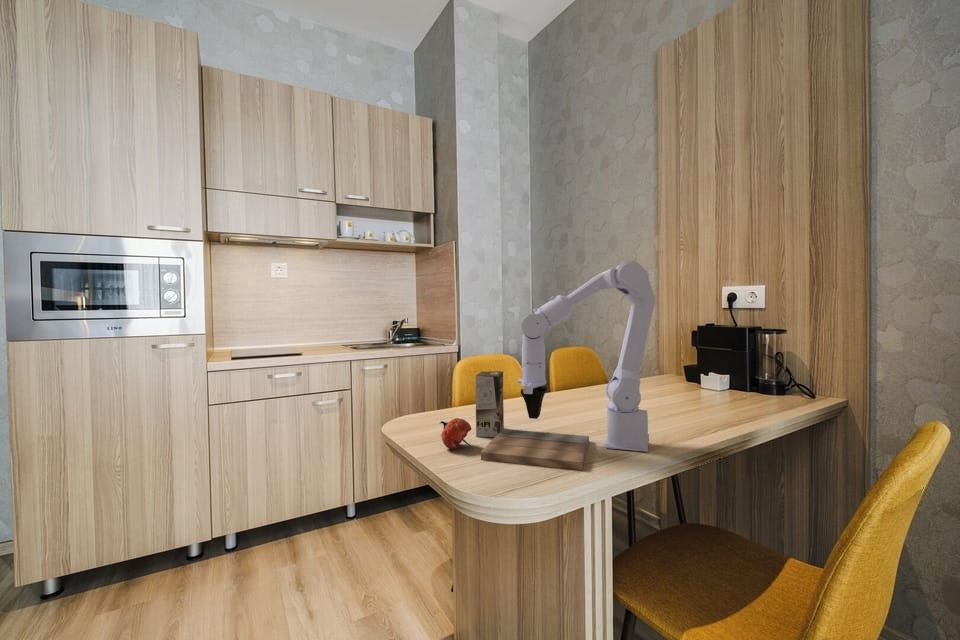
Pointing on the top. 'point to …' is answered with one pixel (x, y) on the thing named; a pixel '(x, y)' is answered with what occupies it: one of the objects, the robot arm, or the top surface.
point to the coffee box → (489, 403)
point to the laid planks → (536, 452)
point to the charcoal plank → (545, 436)
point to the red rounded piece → (455, 432)
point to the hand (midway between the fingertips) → (534, 417)
